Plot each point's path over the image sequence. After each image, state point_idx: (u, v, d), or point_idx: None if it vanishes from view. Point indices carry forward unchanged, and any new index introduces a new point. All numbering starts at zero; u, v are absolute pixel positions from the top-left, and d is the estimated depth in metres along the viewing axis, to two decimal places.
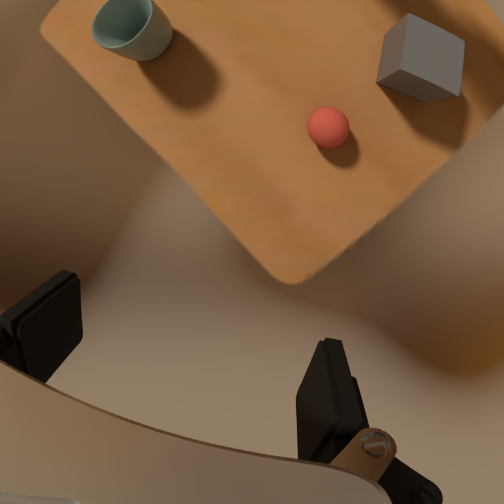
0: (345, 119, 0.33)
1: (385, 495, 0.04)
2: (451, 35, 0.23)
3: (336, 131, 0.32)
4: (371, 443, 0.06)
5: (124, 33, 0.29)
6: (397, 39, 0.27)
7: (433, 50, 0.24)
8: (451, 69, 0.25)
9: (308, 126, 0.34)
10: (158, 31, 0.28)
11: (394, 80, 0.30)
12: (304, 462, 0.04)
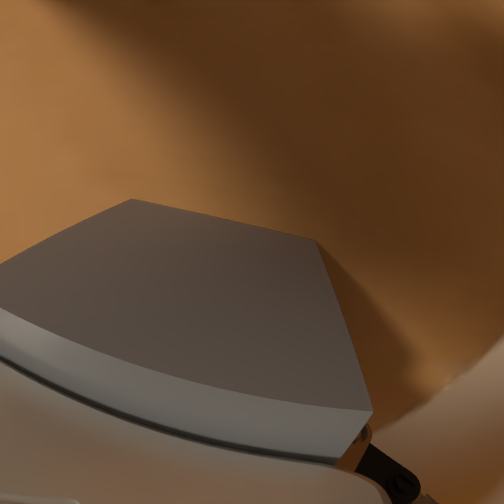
0: None
1: (385, 495, 0.04)
2: (244, 406, 0.04)
3: None
4: None
5: None
6: None
7: None
8: None
9: None
10: None
11: None
12: (304, 462, 0.04)
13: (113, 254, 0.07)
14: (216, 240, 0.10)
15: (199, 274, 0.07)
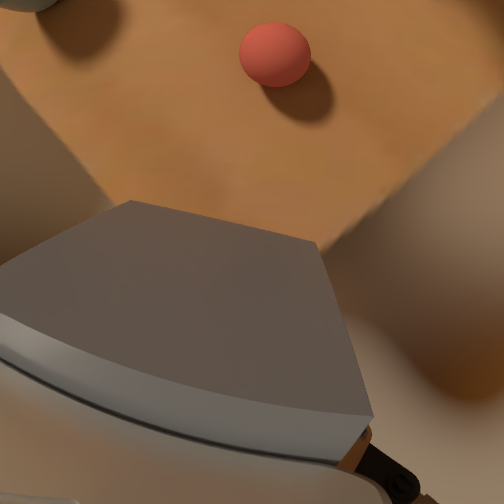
0: (301, 37, 0.17)
1: (385, 495, 0.04)
2: (243, 411, 0.04)
3: (283, 53, 0.17)
4: None
5: None
6: None
7: None
8: None
9: (239, 53, 0.19)
10: None
11: None
12: (304, 462, 0.04)
13: (112, 257, 0.07)
14: (215, 242, 0.10)
15: (197, 277, 0.07)
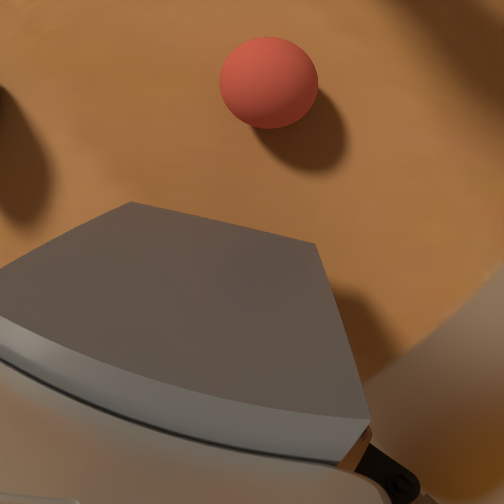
0: (289, 121, 0.14)
1: (385, 495, 0.04)
2: (241, 414, 0.04)
3: None
4: None
5: None
6: None
7: None
8: None
9: None
10: None
11: None
12: (304, 462, 0.04)
13: (111, 260, 0.07)
14: (215, 244, 0.10)
15: (197, 280, 0.07)
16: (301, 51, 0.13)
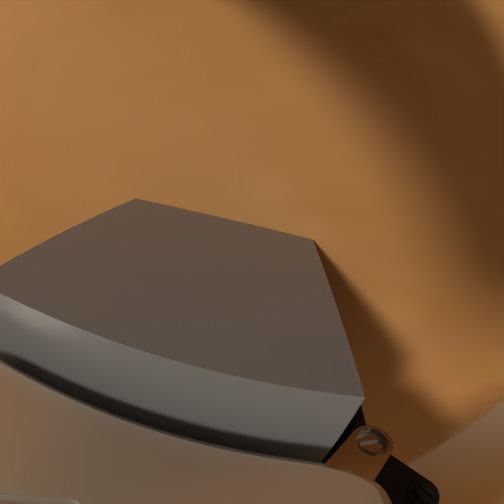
0: None
1: (385, 495, 0.04)
2: (243, 390, 0.05)
3: None
4: (367, 441, 0.06)
5: None
6: None
7: None
8: None
9: None
10: None
11: None
12: (304, 462, 0.04)
13: (119, 252, 0.08)
14: (217, 238, 0.10)
15: (201, 270, 0.08)
16: None
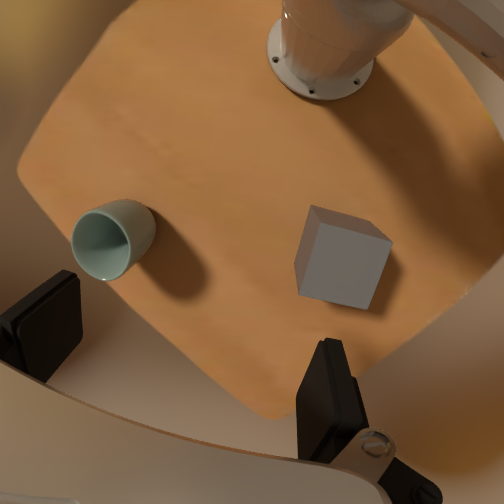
0: None
1: (385, 495, 0.04)
2: (374, 239, 0.29)
3: None
4: (371, 443, 0.06)
5: (106, 234, 0.35)
6: (309, 243, 0.32)
7: (344, 266, 0.30)
8: (364, 283, 0.31)
9: None
10: (141, 252, 0.33)
11: None
12: (304, 462, 0.04)
13: (335, 219, 0.32)
14: (348, 218, 0.35)
15: (354, 224, 0.32)
16: None
